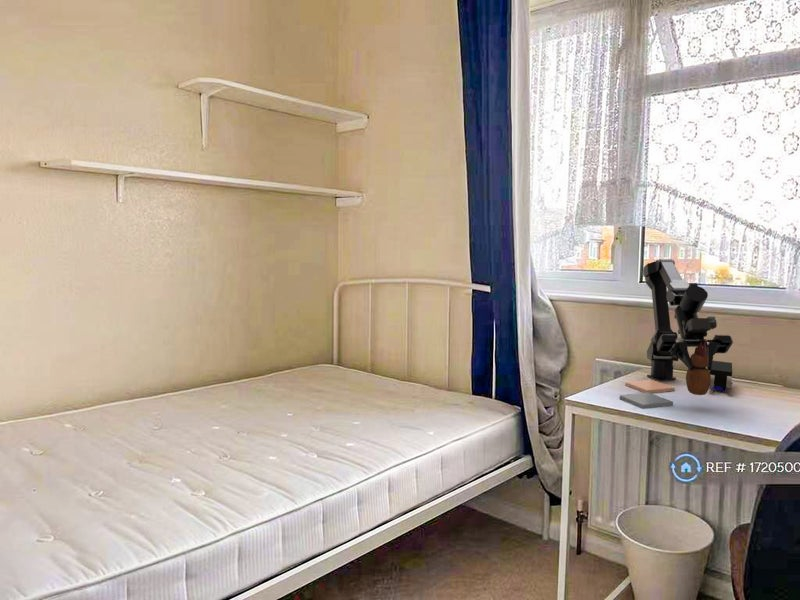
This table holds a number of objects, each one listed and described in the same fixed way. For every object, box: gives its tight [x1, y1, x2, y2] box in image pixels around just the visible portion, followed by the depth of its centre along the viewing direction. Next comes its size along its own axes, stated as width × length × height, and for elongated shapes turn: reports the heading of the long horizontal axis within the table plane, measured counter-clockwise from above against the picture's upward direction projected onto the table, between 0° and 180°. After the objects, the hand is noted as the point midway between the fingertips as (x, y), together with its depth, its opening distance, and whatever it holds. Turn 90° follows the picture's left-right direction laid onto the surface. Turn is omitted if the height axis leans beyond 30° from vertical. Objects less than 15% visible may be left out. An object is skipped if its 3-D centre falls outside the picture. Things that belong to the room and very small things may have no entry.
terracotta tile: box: [624, 379, 676, 394], centre depth 186 cm, size 10×10×1 cm
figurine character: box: [709, 360, 733, 394], centre depth 184 cm, size 7×8×15 cm
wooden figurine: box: [685, 342, 711, 396], centre depth 166 cm, size 7×6×15 cm
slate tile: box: [619, 392, 674, 409], centre depth 171 cm, size 10×10×1 cm
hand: (700, 369), depth 164 cm, fingers closed on wooden figurine, 4 cm apart
